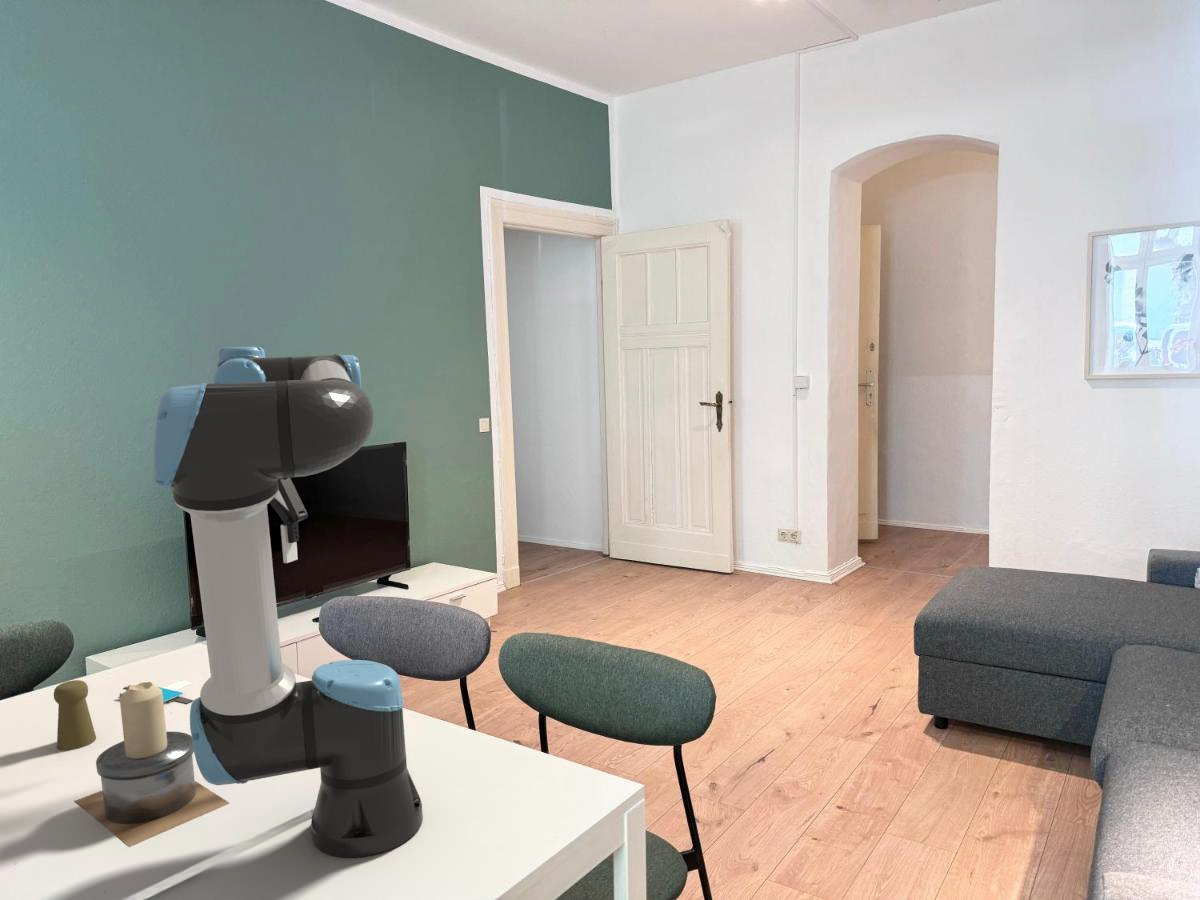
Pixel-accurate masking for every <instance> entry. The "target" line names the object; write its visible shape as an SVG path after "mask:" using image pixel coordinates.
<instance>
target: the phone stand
mask: <svg viewBox="0 0 1200 900" xmlns="http://www.w3.org/2000/svg"><path fill="white" fill-rule="evenodd" d="M131 685H132V684H129V685H128V686H125V687H123V689H128V688H129V687H130V686H131ZM193 685H194V683H193V682H190V681H186V680H180V681H177V682H174V683H173V684H172V683H171V684H169V685H167V686H164V687H160V686H157V687H158V688H160V689H161V690H162V694H163V704H164V705H166V704H167V703H168V704H170V703H172V702H178V703H185V704H189V703H191V702H193V701H194V700H195V699H190V698H187V697H183V695H184V692H181V691H180V690H183V689H185V688H187V687H190V686H193ZM125 692H126V691H124V692H122V693H121V692H119V695H118V697H119V699H120V698H121V696H122V695H123V694H124V693H125Z"/></svg>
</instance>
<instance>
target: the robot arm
mask: <svg viewBox="0 0 1200 900" xmlns="http://www.w3.org/2000/svg"><path fill="white" fill-rule="evenodd" d="M216 365H217V369H216V370H215V372H214V376H213V382H211V383H207V382H202V383H201V384H192V385H183V386H181V385H180V386H174V387H171V388H169V389H167V390H166V391H165V392H164V393H163V394H162V396H161V398H160V399H159V403H158V408H157V414H156V419H155V420H156V421H155V430H154V445H153V446H154V447H153V472H154V473H153V474H154V479H155V485H156V486H157V487H158V488H160V489H161V488H162V489H165V490H170V489H172V495H173V501H174V504H175V506H177V507H178V508H180V509H181V510H183V511H185V512H187V513H188V514H189V515H190V519H191V520H190V521H191V529H192V536H193V537H192V538H193V545H194V552H195V560H196V561H195V562H196V569H197V576H198V578H197V579H198V584H199V585H198V586H199V593H200V601H201V608H202V617H203V623H204V631H205V632H204V633H205V640H206V647H207V648H206V649H207V654H208V655H207V657H208V663H209V670H210V671H209V673H210V677H209V678H208V679H207V680H206V681H205V682H204V683H203V685H202V687H201V690H200V693H199V694H200V695H199V697H197V698H195V699H193V700H194V701H192V703H191V705H190V709H189V710H190V711H189V730H190V736H192V740H193V741H192V745H193V750H194V752H193V754H194V758H195V761H196V764H197V767H198V770H199V772H200V774H201V775H202V777H203V779H204V780H205V781H206V782H207V783H208V784H211V785H214V786H225V785H234V784H246V783H248V782H249V781H250V782H251V781H256V780H261V779H266V778H271V777H277V776H283V775H289V774H293V773H298V772H304V771H305V772H306V771H310V770H315V769H320V786H319V789H318V793H317V798H316V801H315V806H314V810H313V811H314V812H313V814H312V817H311V822H310V823H311V824H310V829H311V837H312V839H311V840H312V843H313V844H314V846H315V847H316V849H318V850H319V851H321V852H323V853H324V854H328V855H331V856H335V857H339V858H340V857H342V858H358V857H360V858H361V857H366V856H372V855H376V854H380V853H383V852H386V851H389V850H392V849H394V848H396V847H398V846H400V845H402V844H404V843H406V842H407V841H408V840H410V839H411V838H412V837H413V836H415V835H416V833H418V831H419V830H420V828H421V827H422V824H423V821H424V820H423V819H424V818H423V817H424V815H423V803H422V799H421V797H420V795H419V792H418V790H417V787H416V786H415V783H414V780H413V778H412V776H411V774H410V772H409V769H408V764H407V763H408V762H407V749H406V738H405V737H406V736H405V724H404V723H405V722H404V711H403V707H404V706H405V700H404V698H403V694H402V686H401V680H400V677H399V674H398V673H397V672H396V671H395V669H393V668H392V667H390V666H389V665H386V664H383V663H380V662H376V661H373V660H367V659H366V660H365V659H364V660H363V659H345V660H335V661H331V662H329V664H328V663H327V664H325V663H324V664H322V665H320V666H318V667H316V669H315V670H314V671H313V673H312V675H311V679H310V680H305V681H298V682H297V681H296V676H295V675H296V674H295V672H294V671H293V669H292V668H291V667H290V666H288V665H286V664H284V663H283V661H282V652H281V651H282V649H281V642H280V631H279V618H278V617H279V616H278V610H277V609H278V608H277V599H276V598H277V597H276V587H275V578H274V577H275V576H274V567H273V557H272V556H273V554H272V546H271V545H272V544H271V535H270V524H269V523H270V522H269V514H268V504H270V506H271V507H272V509H274V511H275V512H276V513H277V515H278V516H279V518H280V519H281V521H282V522H283V523H282V524H280V536H281V537H280V538H281V548H282V559H283V561H282V562H283V564H288V563H292V562H295V561H297V560H298V559H299V558H298V544H297V542H299V541H300V531H299V523H300V522H301V521H304V520H306V519H308V517H309V514H308V512H307V509H306V508H305V505H304V504H303V502H302V500H301V497H300V496H299V493H298V492H297V489H296V486H295V484H294V483H293V481H292V478H298V477H299V478H301V477H307V476H312V475H316V474H319V473H322V472H324V471H329V470H331V469H332V468H334V467H337V466H338V465H340V464H342V463H343V462H345V461H346V460H347V459H349V458H351V457H353V455H354V454H355V453H357V452H358V451H359V450H360V449H361V448H362V447H363V445H364V444H365V443H366V441H368V439H369V437H370V434H371V432H372V430H373V426H374V408H373V407H372V402H371V400H370V399H369V397H368V396H367V394H366V393H365V391H364V390H363V389H362V376H361V367H360V362H359V359H358V357H357V356H355V355H352V354H336V353H335V354H332V355H331V354H330V355H313V356H274V357H266V354H265V350H264V348H262V347H260V346H235V347H234V346H231V347H221V348H220V349H219V350H218V351H217V364H216Z"/></svg>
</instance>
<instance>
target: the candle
mask: <svg viewBox="0 0 1200 900" xmlns="http://www.w3.org/2000/svg"><path fill="white" fill-rule="evenodd" d="M130 685H131V686H130V687H129V688H128V689H127V688H126V689H127V690H126V691H124V692H125V693H124V694H123V693H122V694H123V695H122V696H121V698H120V697H119V705H120V714H121V724H122V735H123V741H124V744H125V753H126V756H127V757H128V758H132V759H140V758H147V757H151V756H154V755H156V754H159V753H161V752H162V751H164V750H165V749H166V748H167V734H166V732H167V727H166V726H167V725H166V716H165V714H166V713H165V706H164V705H165V704H163V703H164V702H163V694H162V690H161V689H160V688H158V687H159V686H156V685H155V684H154V683H153V682H151V681H145V682H140V683H138V684H130Z"/></svg>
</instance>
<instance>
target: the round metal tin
mask: <svg viewBox="0 0 1200 900" xmlns="http://www.w3.org/2000/svg"><path fill="white" fill-rule="evenodd" d="M166 734H167V748H166V749H165V750H164V751H162V752H161V753H159V754H156V755H154V756H151V757H147V758H140V759H132V758H128V757H127V756H126V753H125V744H124V740H122V741H119V742H117V743H116V744H114V745H112V746H110V747H108V748H107V749H105V750H103V751H102V752H101V753H100V754H99V755H98V756H97V758H96V760H95V766H96V773H97V775H99V776H100V782H101V791H102V792H103V801H104V810H105V816H106V818H107V819H108V820H109V821H111V822H114V823H118V824H136V823H143V822H148V821H152V820H156V819H159V818H162V817H165V816H168V815H170V814H172V813H174V812H176V811H178V810H180V809H182V808H183V807H185V806H186V805H187V804H188V803H190V802H191V801H192V799H193V798H194V796H195V794H196V789H195V781H196V780H195V771H194V770H195V769H194V760H193V754H194V750H193V745H192V741H193V740H192V735H191V734H188V733H186V732H181V731H166Z"/></svg>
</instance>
